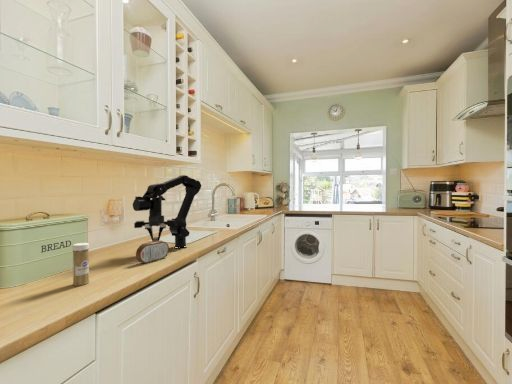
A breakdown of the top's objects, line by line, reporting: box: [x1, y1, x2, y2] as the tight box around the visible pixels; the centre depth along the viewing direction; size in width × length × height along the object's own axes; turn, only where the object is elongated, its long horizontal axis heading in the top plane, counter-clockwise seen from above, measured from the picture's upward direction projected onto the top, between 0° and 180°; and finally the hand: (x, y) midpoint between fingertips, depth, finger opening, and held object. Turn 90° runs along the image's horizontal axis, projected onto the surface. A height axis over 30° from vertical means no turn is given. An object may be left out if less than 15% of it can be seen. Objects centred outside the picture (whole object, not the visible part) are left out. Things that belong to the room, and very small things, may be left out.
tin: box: [135, 240, 170, 264], centre depth 112 cm, size 15×3×8 cm, turn 146°
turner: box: [151, 236, 158, 242], centre depth 123 cm, size 16×5×2 cm, turn 18°
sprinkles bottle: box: [72, 242, 90, 287], centre depth 84 cm, size 5×5×14 cm
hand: (155, 240), depth 126 cm, fingers closed on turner, 2 cm apart
